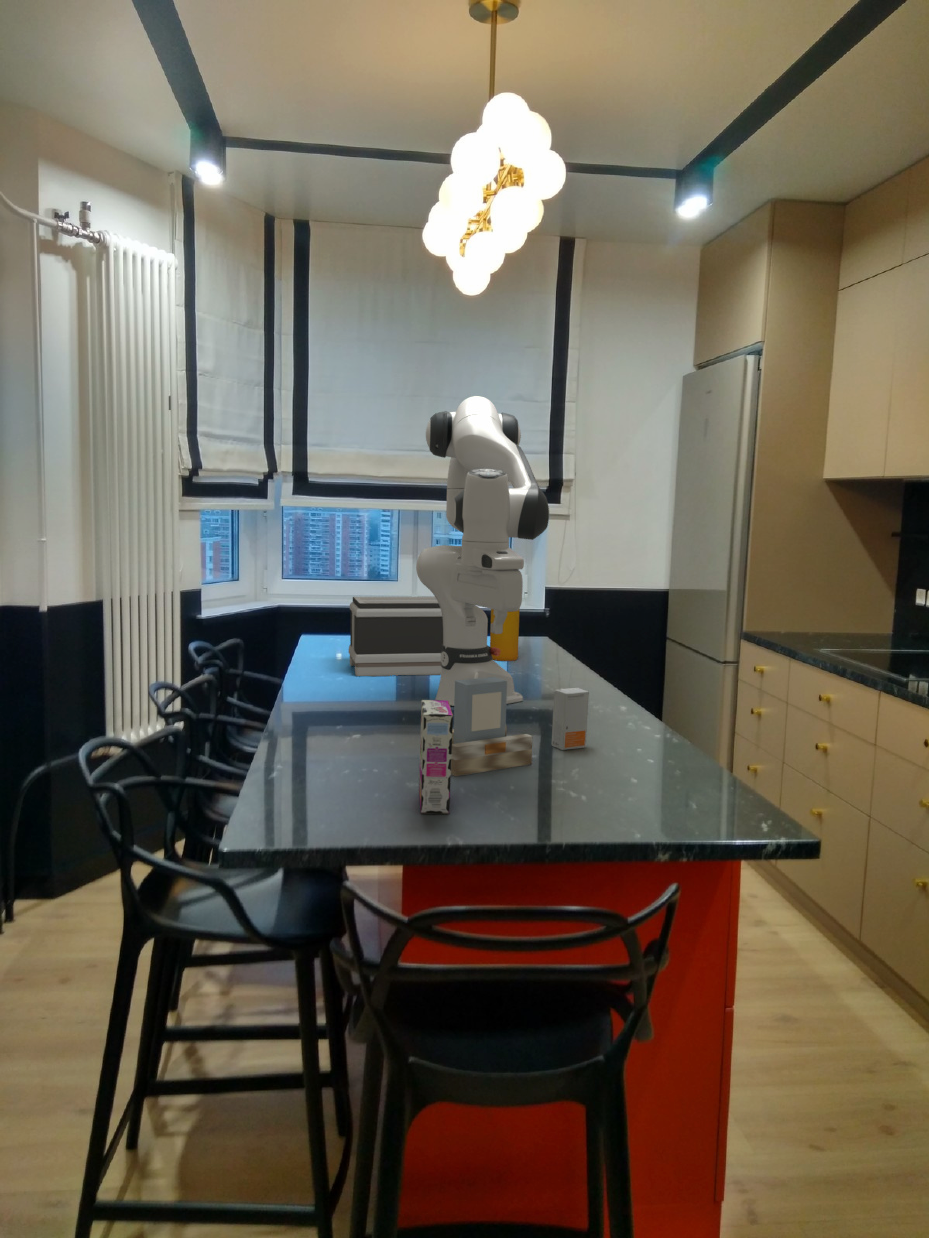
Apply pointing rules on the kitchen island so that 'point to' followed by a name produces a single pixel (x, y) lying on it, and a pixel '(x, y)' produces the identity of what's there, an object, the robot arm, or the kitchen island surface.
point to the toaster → (396, 636)
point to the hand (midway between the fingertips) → (483, 629)
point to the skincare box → (570, 718)
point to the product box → (479, 709)
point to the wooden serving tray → (491, 754)
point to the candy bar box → (435, 756)
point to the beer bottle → (506, 637)
